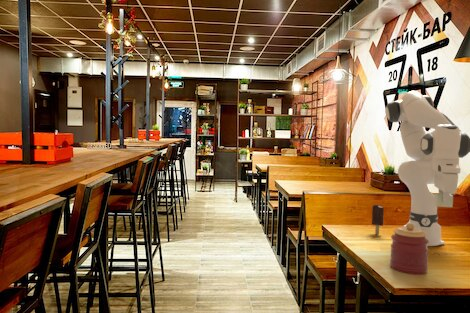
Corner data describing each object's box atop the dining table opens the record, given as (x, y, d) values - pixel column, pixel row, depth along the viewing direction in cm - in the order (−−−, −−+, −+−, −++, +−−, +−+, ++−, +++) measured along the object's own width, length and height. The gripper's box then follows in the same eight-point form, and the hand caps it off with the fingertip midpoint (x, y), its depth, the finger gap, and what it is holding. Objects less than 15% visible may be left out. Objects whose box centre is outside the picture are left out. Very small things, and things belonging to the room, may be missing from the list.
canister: (432, 277, 138) (434, 228, 137) (394, 274, 140) (396, 226, 139) (421, 264, 151) (423, 220, 150) (386, 262, 153) (388, 218, 152)
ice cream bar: (382, 234, 196) (383, 205, 195) (382, 235, 195) (383, 205, 194) (371, 233, 199) (373, 204, 198) (371, 233, 197) (372, 204, 196)
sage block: (434, 204, 153) (435, 193, 153) (449, 205, 151) (450, 194, 151) (436, 206, 149) (437, 194, 149) (452, 207, 148) (453, 195, 147)
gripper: (431, 163, 160) (429, 196, 161) (442, 168, 140) (440, 206, 141) (448, 164, 158) (446, 197, 159) (461, 169, 139) (459, 207, 140)
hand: (443, 201), depth 150 cm, fingers closed on sage block, 4 cm apart
